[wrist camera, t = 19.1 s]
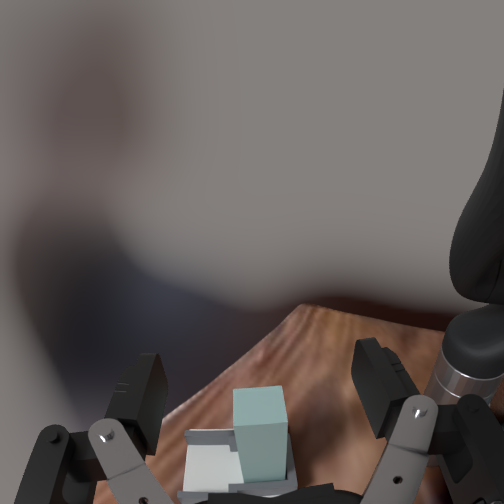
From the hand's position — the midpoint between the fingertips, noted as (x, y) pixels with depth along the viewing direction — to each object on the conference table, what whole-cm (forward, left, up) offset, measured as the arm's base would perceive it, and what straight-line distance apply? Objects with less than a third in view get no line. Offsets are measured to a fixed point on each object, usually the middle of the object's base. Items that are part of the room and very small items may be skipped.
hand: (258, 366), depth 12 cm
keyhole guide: (+3, -11, -30) cm, 32 cm away
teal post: (0, -11, -29) cm, 31 cm away
